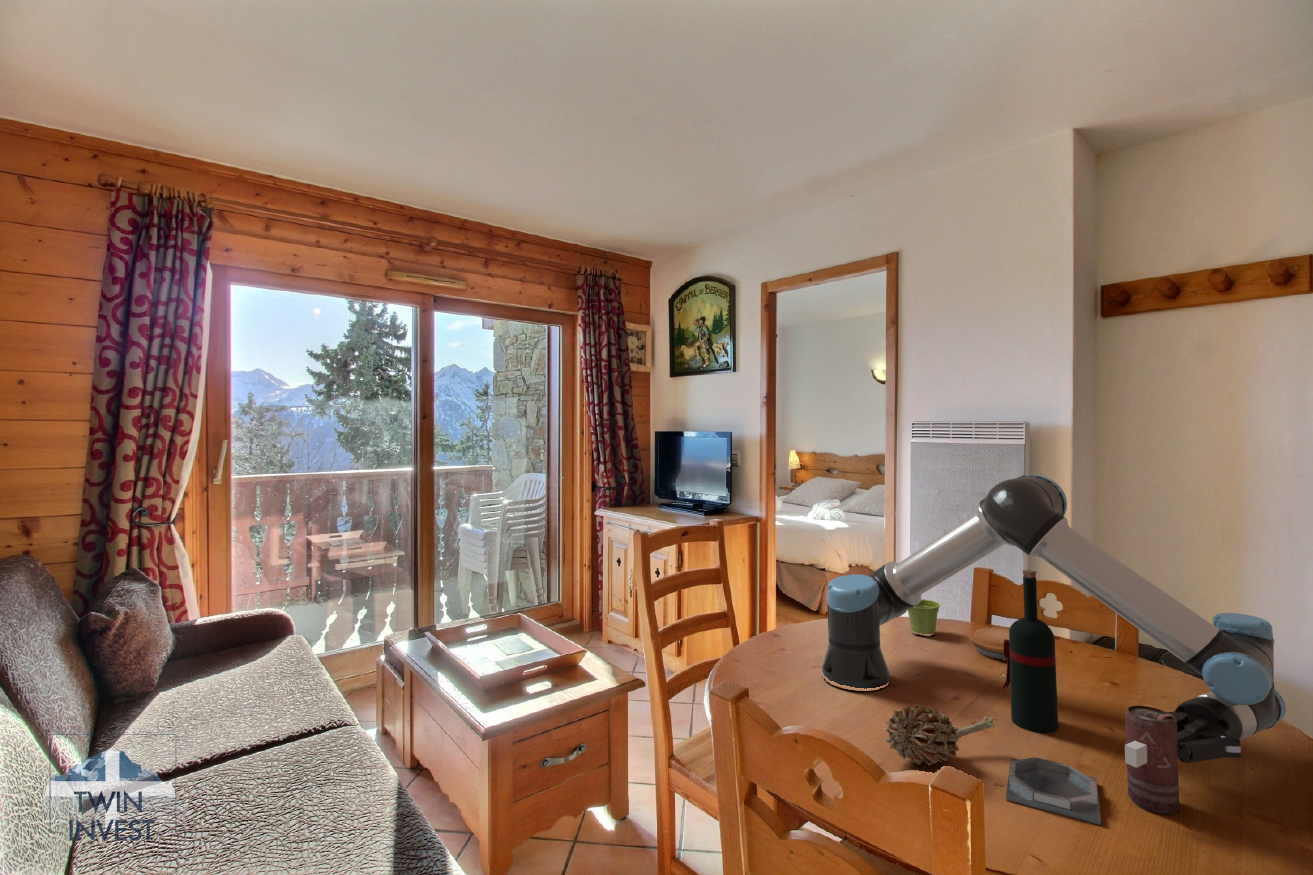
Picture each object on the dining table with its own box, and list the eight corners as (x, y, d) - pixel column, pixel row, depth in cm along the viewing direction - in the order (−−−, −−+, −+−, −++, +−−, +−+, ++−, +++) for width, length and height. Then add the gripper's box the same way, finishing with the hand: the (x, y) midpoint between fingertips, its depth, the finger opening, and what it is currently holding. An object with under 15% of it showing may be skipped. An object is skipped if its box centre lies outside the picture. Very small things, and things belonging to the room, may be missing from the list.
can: (1192, 816, 89) (1188, 722, 89) (1145, 814, 89) (1142, 721, 89) (1162, 792, 95) (1159, 703, 95) (1119, 790, 95) (1116, 703, 95)
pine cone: (911, 785, 99) (909, 725, 99) (873, 756, 108) (871, 701, 108) (1012, 758, 106) (1010, 702, 106) (968, 733, 115) (966, 681, 115)
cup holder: (1006, 800, 94) (1005, 786, 94) (1011, 763, 104) (1010, 750, 104) (1101, 825, 87) (1100, 810, 87) (1096, 783, 97) (1096, 770, 97)
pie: (981, 638, 165) (980, 620, 165) (1046, 652, 154) (1045, 632, 154) (959, 653, 155) (958, 634, 155) (1026, 669, 143) (1026, 649, 143)
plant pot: (899, 629, 175) (898, 599, 175) (930, 627, 175) (929, 597, 175) (915, 640, 165) (914, 609, 165) (948, 638, 166) (947, 606, 166)
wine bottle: (1018, 706, 125) (1013, 562, 125) (1067, 727, 116) (1062, 572, 115) (991, 714, 122) (986, 567, 122) (1040, 736, 113) (1035, 577, 112)
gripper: (1267, 761, 93) (1184, 805, 84) (1167, 725, 105) (1084, 759, 96) (1266, 713, 93) (1182, 751, 84) (1166, 683, 105) (1083, 713, 95)
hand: (1130, 756), depth 90 cm, fingers closed
